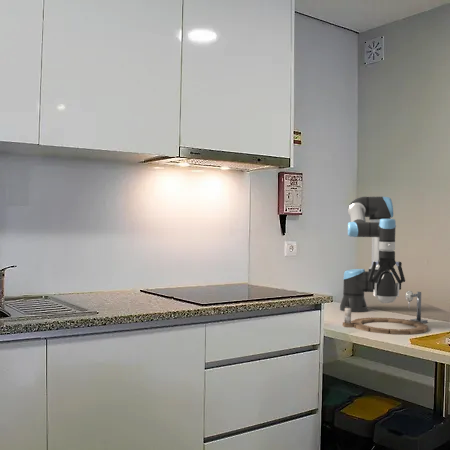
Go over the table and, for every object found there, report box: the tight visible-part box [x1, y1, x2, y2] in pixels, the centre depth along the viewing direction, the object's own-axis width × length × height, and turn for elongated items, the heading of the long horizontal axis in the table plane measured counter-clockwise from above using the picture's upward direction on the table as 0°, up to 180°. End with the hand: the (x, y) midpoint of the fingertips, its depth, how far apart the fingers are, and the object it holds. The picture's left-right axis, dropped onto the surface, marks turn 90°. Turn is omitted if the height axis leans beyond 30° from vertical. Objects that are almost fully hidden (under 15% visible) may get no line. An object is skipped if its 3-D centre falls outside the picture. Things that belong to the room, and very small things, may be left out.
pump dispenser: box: [375, 271, 397, 304], centre depth 267 cm, size 10×10×15 cm
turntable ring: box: [342, 308, 429, 335], centre depth 262 cm, size 34×38×8 cm
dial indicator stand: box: [404, 290, 428, 324], centre depth 274 cm, size 14×6×16 cm, turn 126°
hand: (386, 296), depth 267 cm, fingers closed on pump dispenser, 10 cm apart
